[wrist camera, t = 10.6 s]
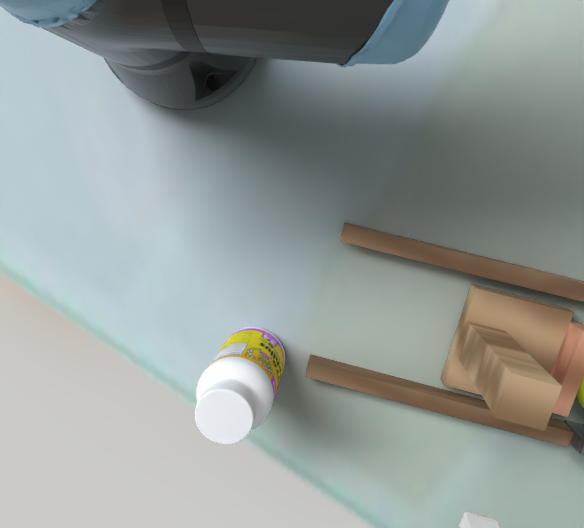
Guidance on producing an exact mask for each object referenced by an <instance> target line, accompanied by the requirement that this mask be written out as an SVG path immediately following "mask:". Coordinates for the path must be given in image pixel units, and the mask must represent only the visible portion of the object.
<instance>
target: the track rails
mask: <svg viewBox="0 0 584 528" xmlns="http://www.w3.org/2000/svg"><path fill="white" fill-rule="evenodd" d="M341 242H344V243H349V244H353V245H357V246H361V247H365V248H369V249H373V250H377V251H381V252H385V253H389V254H393V255H397V256H401V257H405V258H409V259H413V260H417V261H421V262H425V263H429V264H433V265H437V266H441V267H445V268H449V269H453V270H457V271H461V272H465V273H469V274H473V275H477V276H481V277H485V278H489V279H493V280H497V281H501V282H505V283H509V284H513V285H517V286H521V287H525V288H529V289H533V290H537V291H541V292H545V293H550V294H554V295H558V296H562V297H566V298H570V299H574V300H578V301H582V302H584V281H580V280H576V279H572V278H568V277H564V276H560V275H556V274H552V273H548V272H543V271H539V270H535V269H531V268H527V267H523V266H519V265H515V264H511V263H507V262H503V261H499V260H495V259H491V258H487V257H482V256H478V255H474V254H470V253H466V252H462V251H458V250H454V249H450V248H446V247H442V246H438V245H434V244H430V243H426V242H422V241H417V240H413V239H409V238H405V237H401V236H397V235H393V234H389V233H385V232H381V231H377V230H373V229H369V228H365V227H361V226H356V225H352V224H348V223H345V224H344V228H343V231H342V235H341ZM305 377H308V378H312V379H316V380H319V381H323V382H327V383H330V384H334V385H338V386H342V387H345V388H349V389H353V390H357V391H360V392H364V393H368V394H371V395H375V396H379V397H383V398H386V399H390V400H394V401H398V402H401V403H405V404H409V405H412V406H416V407H420V408H424V409H427V410H431V411H435V412H438V413H442V414H446V415H450V416H453V417H457V418H461V419H465V420H468V421H472V422H476V423H479V424H483V425H487V426H491V427H494V428H498V429H502V430H506V431H509V432H513V433H517V434H520V435H524V436H528V437H532V438H535V439H539V440H543V441H547V442H550V443H554V444H558V445H561V446H565V447H568V445H569V443H570V441H571V438H572V436H573V433H574V432H573V431H572V430H571V429H570V428H569V427H568V426H567V425H566V423H565V422H563V421H560V420H556V419H552V418H550V419H549V422H548V424H547V427H546V429H545V431H543V430H539V429H536V428H532V427H528V426H524V425H521V424H517V423H513V422H509V421H506V420H502V419H498V418H495V416H494V415H493V413H492V411H491V410H490V408H489V407H488V405H487V403H486V402H485V401H484V400H480V399H477V398H473V397H469V396H465V395H462V394H458V393H454V392H450V391H447V390H443V389H439V388H435V387H431V386H428V385H424V384H420V383H416V382H413V381H409V380H405V379H401V378H397V377H394V376H390V375H386V374H382V373H379V372H375V371H371V370H367V369H364V368H360V367H356V366H352V365H348V364H345V363H341V362H337V361H333V360H330V359H326V358H322V357H318V356H315V355H310V358H309V362H308V366H307V370H306V376H305Z"/></svg>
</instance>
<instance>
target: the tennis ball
mask: <svg viewBox="0 0 584 528" xmlns="http://www.w3.org/2000/svg"><path fill="white" fill-rule="evenodd" d="M576 398H577V400H578V401H579V403H580V405H581V406H582V407H583V409H584V378H583V380H582V383H581V385H580V388H579V390H578V393H577V395H576Z"/></svg>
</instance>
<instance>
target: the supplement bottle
mask: <svg viewBox="0 0 584 528" xmlns="http://www.w3.org/2000/svg"><path fill="white" fill-rule="evenodd" d="M285 360H286V359H285V351H284V348H283V346H282V344H281V342H280V341H279V340H278V338H277V337H276V336H275V335H274V334H272V333H271V332H269V331H267V330H265V329H263V328H259V327H246V328H243V329H240V330H238V331H236V332H235V333H233V334H232V335H231V336H230V337H229V338H228V339H227V341H226V342H225V343H224V345H223V346H222V347H221V349H220V350H219V352H218V353H217V354H216V356H215V357H214V359H213V360H212V361H211V363H210V364H209V365H208V367H207V368H206V370H205V371H204V372H203V374H202V376H201V377H200V379H199V382H198V385H197V391H196V398H197V405H196V409H195V419H196V423H197V426H198V428H199V429H200V431H201V432H202V433H203V435H204V436H206V437H207V438H208V439H210V440H212V441H213V442H216V443H220V444H234V443H237V442H239V441H241V440H242V439H244V438H245V437H246V436H247V435H248V434H249V433H250V431H251V430H252V429H254V428H256V427H258V426H259V425H260V424H261V423H262V422H263V421H264V420H265V419H266V418H267V416H268V415H269V413H270V410H271V408H272V405H273V401H274V398H275V395H276V392H277V389H278V386H279V383H280V380H281V376H282V373H283V370H284V367H285Z"/></svg>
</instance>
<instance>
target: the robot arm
mask: <svg viewBox="0 0 584 528" xmlns="http://www.w3.org/2000/svg"><path fill="white" fill-rule="evenodd" d="M448 2H449V0H0V6H1V7H3V8H4V9H5V10H6V11H8V12H9V13H10V14H11V15H12V16H14V17H16V18H18V19H19V20H20V21H22V22H24V23H28V24H32V25H34V26H37V27H41V28H43V29H45V30H47V31H49V32H51V33H54V34H56V35H58V36H60V37H62V38H64V39H66V40H68V41H70V42H73V43H75V44H77V45H79V46H81V47H83V48H85V49H87V50H89V51H92V52H94V53H96V54H98V55H100V56H102V57H104V59H105V61H106V63H107V64H108V66H109V67H110V69H111V70H112V72H113V73H114V74H115V75H116V77H117V78H118V79H119V80H120V81H121V82H122V83H123V84H124V85H125V86H126V87H128V88H129V89H130V90H131V91H133V92H134V93H136V94H137V95H139V96H140V97H142V98H144V99H146V100H148V101H151V102H153V103H156V104H158V105H161V106H164V107H168V108H173V109H182V110H188V109H198V108H202V107H206V106H209V105H211V104H214V103H216V102H218V101H220V100H222V99H223V98H225V97H226V96H228V95H229V94H230V93H232V92H233V91H234V90H235V89H236V88H237V87H238V86H239V85H240V84H241V83H242V82H243V81H244V79H245V78H246V77H247V75H248V74H249V72H250V70H251V69H252V67H253V65H254V63H255V61H256V58H257V57H258V58H271V59H284V60H297V61H310V62H323V63H336V64H337V65H339V66H341V67H347V66H353V65H355V64H396V63H399V62H402V61H405V60H406V59H408V58H411V57H412V56H414V55H415V54H416V53H418V52H419V51H420V49H421V48H422V47H423V46H424V45H425V44H426V42H427V41H428V40H429V38H430V37H431V35H432V34H433V32H434V30H435V28H436V27H437V25H438V23H439V21H440V19H441V17H442V15H443V13H444V11H445V9H446V6H447V4H448ZM459 528H500V527H499V525H498V523H497V520H493V519H490V518H486V517H482V516H479V515H475V514H472V513H468V512H464V515H463V518H462V520H461V523H460V526H459Z"/></svg>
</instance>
